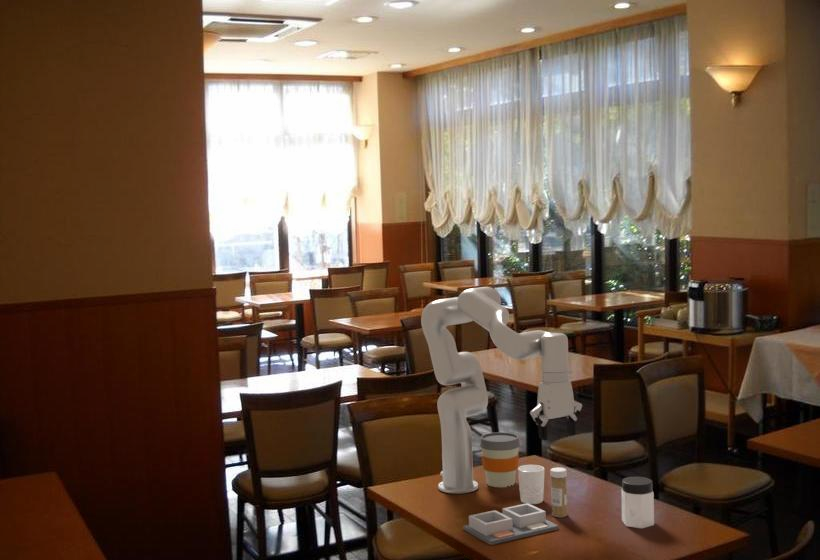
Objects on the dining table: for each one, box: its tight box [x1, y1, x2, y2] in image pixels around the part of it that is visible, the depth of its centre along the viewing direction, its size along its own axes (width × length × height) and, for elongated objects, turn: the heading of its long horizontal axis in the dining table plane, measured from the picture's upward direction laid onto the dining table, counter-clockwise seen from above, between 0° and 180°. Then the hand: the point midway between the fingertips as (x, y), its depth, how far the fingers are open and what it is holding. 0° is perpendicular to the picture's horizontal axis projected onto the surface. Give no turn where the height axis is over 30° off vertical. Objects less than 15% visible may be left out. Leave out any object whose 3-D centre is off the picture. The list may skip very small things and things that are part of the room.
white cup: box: [517, 464, 545, 505], centre depth 281 cm, size 8×8×10 cm
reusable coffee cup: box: [479, 431, 521, 488], centre depth 299 cm, size 13×13×15 cm
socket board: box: [462, 503, 559, 546], centre depth 257 cm, size 14×22×4 cm, turn 118°
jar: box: [620, 476, 655, 529], centre depth 258 cm, size 9×8×12 cm
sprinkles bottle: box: [549, 467, 568, 518], centre depth 267 cm, size 5×5×13 cm
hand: (557, 436), depth 265 cm, fingers open, 9 cm apart
